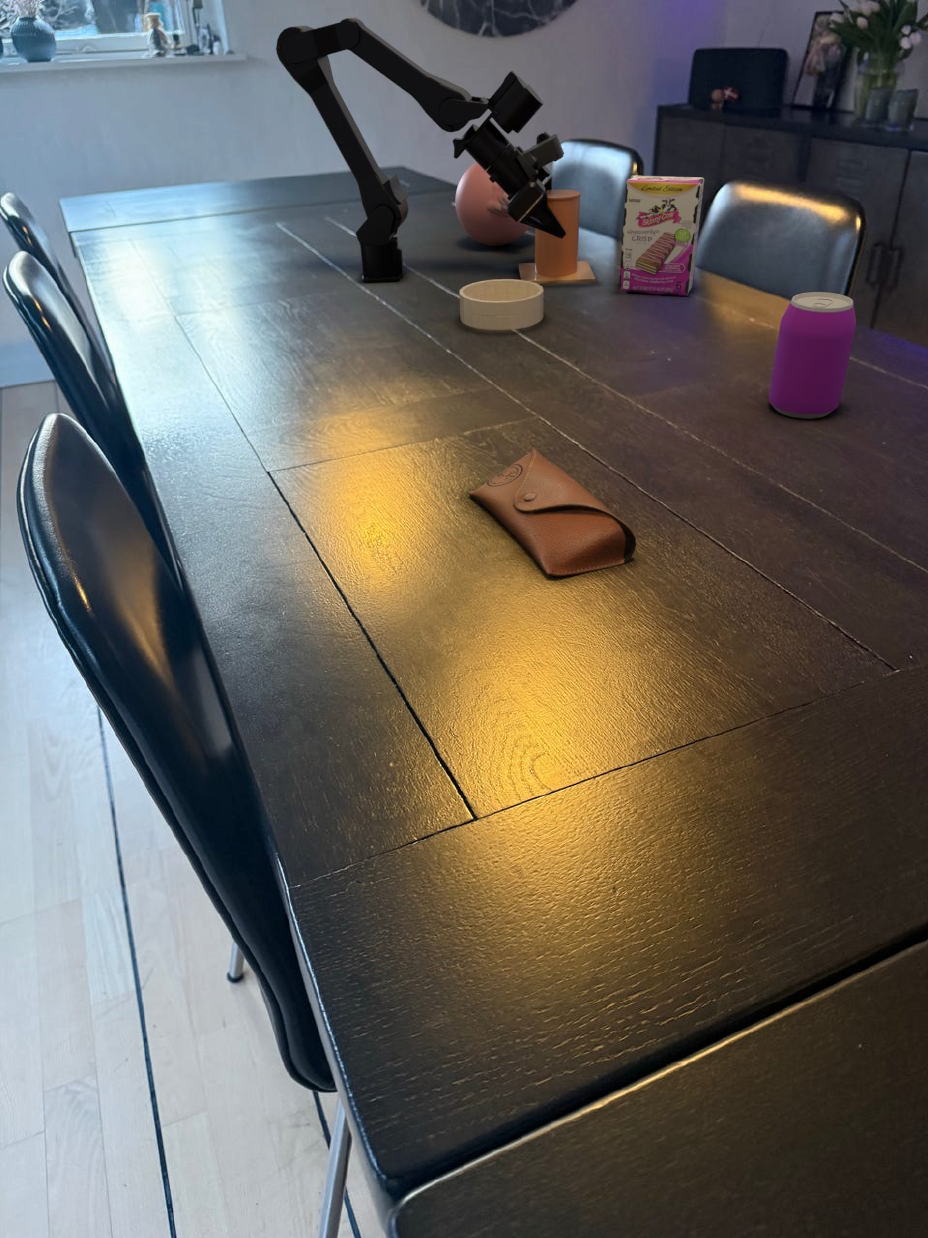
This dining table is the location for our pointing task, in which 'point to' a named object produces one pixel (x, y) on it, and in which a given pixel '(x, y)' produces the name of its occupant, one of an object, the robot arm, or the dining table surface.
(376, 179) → the robot arm
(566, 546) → the sunglasses case
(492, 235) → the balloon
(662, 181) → the candy bar box
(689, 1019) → the dining table surface
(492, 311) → the cream round container
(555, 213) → the orange lidded canister
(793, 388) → the beverage can
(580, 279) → the plate
